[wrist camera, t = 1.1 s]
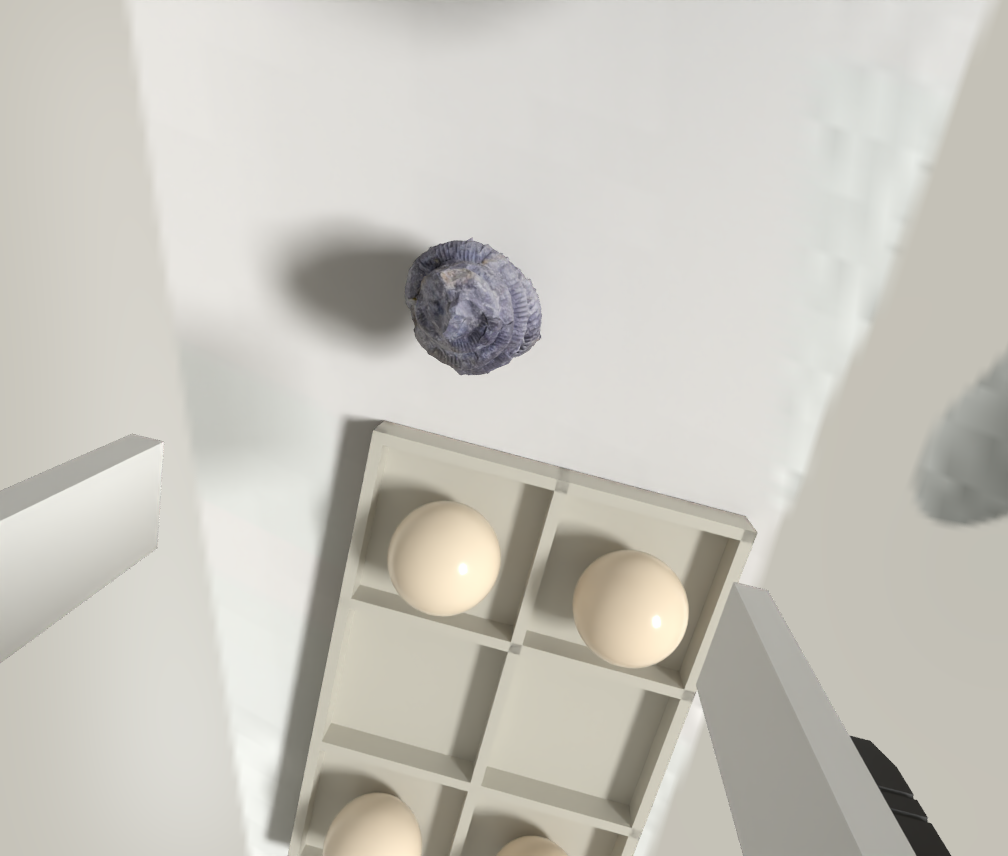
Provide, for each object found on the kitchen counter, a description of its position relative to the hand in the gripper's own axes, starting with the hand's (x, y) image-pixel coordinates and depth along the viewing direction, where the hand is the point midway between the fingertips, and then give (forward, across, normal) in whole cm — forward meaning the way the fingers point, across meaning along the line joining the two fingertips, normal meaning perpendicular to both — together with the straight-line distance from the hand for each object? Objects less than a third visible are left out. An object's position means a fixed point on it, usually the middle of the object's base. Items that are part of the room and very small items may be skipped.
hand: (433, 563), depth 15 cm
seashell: (+18, -2, +4) cm, 19 cm away
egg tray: (+18, +3, -17) cm, 25 cm away
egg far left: (+17, -2, -26) cm, 31 cm away
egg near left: (+17, -1, -8) cm, 19 cm away
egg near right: (+17, +8, -8) cm, 21 cm away
